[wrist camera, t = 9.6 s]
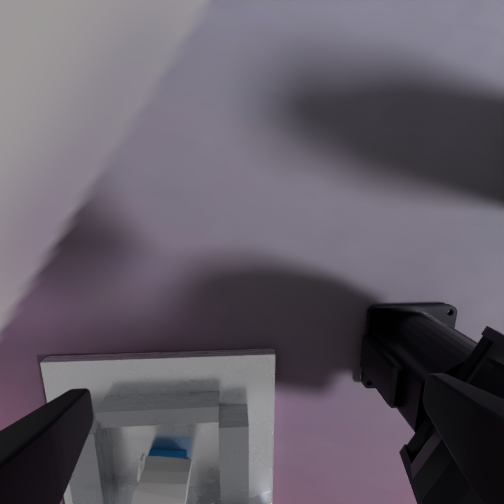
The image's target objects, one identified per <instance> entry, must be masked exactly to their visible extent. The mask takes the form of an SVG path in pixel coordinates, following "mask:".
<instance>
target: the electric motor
mask: <svg viewBox="0 0 504 504" xmlns="http://www.w3.org/2000/svg"><path fill="white" fill-rule="evenodd" d="M187 452H188V451H179V450H164V449H150V451H149V454H148V456H146V453H142V456H141V459H140V463H139V467H138V476H137V480H138V481H137V483H136V486H135V490H134V494H133V498H132V502H131V504H186V501H187V494H188V487H189V480H190V473H191V465H192V459H189V457H187ZM145 457H146V458H145Z"/></svg>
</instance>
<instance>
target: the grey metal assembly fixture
mask: <svg viewBox="0 0 504 504" xmlns="http://www.w3.org/2000/svg"><path fill="white" fill-rule="evenodd" d="M40 365H41V371H42V376H43V382H44V388H45V393H46V399H47V403H48V402H50V401H52V400H53V399H55V398H57V397H58V396H60V395H62V394H63V393H65V392H67V391H68V390H70V389H78V388H87V389H89V391H90V393H91V400H92V407H93V414H94V419H93V424H92V427H91V430H90V432H89V435H88V437H87V440H86V442H85V445H84V447H83V450H82V452H81V455H80V457H79V459H78V462H77V464H76V467H75V469H74V472H73V474H72V477H71V479H70V482H69V484H68V486H67V489H66V491H65V493H64V500H65V504H131V502H132V498H133V494H134V490H135V486H136V483H137V481H138V480H137V476H138V467H139V463H140V459H141V456H142V453H146V456H148V454H149V451H150V449H164V450H179V451H188V452H187V457H189V459H192V465H191V473H190V480H189V487H188V494H187V501H186V504H272V493H273V445H274V397H275V351H274V348H269V349H239V350H209V351H179V352H149V353H119V354H89V355H59V356H47V357H46V358H45V359H44V360H43V361H41V362H40ZM145 458H146V457H145Z"/></svg>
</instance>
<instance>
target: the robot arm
mask: <svg viewBox="0 0 504 504" xmlns="http://www.w3.org/2000/svg"><path fill="white" fill-rule="evenodd" d="M448 310H450V311H449V312H448ZM376 311H377V314H376V315H374V316H373V314H374V312H376ZM447 312H448V313H447ZM456 316H457V309H456V308H455V307H454V306H452V305H450V304H430V305H389V306H372V307H370V308H369V309H368V312H367V321H366V331H365V335H364V336H363V341H362V351H361V362H360V367H361V368H362V374H361V382H362V383H363V385H364V386H365V387H366V388H376V389H377V390H378V392H379V393H380V394H381V396H382V397H383V399H384V400H385V401H386V403H387V404H388V405H389V406H390V407H391V408H397V409H398V410H399V412H400V413H401V414H402V416H403V417H404V418H405V420H406V421H407V422H408V424H409V425H410V426H411V428H412V429H413V430H414V432H415V434H414V436H413V437H412V439H411V440H410V441H409V443H408V444H407V445H406V444H405V445H404V446H403V448H402V449H401V451H400V455H401V458H402V461H403V464H404V467H405V470H406V473H407V475H408V478H409V481H410V484H411V487H412V490H413V492H414V495H415V498H416V501H417V504H504V334H502V333H500V332H498V331H496V330H494V329H492V328H490V327H488V326H486V328H485V329H484V331H483V332H482V335H483V336H482V338H481V339H480V341H479V342H478V343H477V342H475V341H474V340H472V339H470V338H469V337H467V336H466V335H464V334H462V333H461V332H459V331H458V330H456V329H454V327H455V321H456ZM368 380H370V381H369V382H367V381H368ZM93 419H94V414H93V407H92V400H91V393H90V391H89V389H87V388H78V389H70V390H68V391H67V392H65V393H63V394H62V395H60V396H58V397H57V398H55V399H53V400H52V401H50V402H48V403H47V404H45V405H43V406H42V407H40V408H38V409H37V410H35V411H33V412H31V413H30V414H28V415H26V416H25V417H23V418H21V419H20V420H18V421H16V422H15V423H13V424H11V425H10V426H8V427H6V428H5V429H3V430H1V431H0V504H60V502H61V500H62V498H63V496H64V493H65V491H66V489H67V486H68V484H69V482H70V479H71V477H72V474H73V472H74V469H75V467H76V464H77V462H78V459H79V457H80V455H81V452H82V450H83V447H84V445H85V442H86V440H87V437H88V435H89V432H90V430H91V427H92V424H93Z"/></svg>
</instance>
